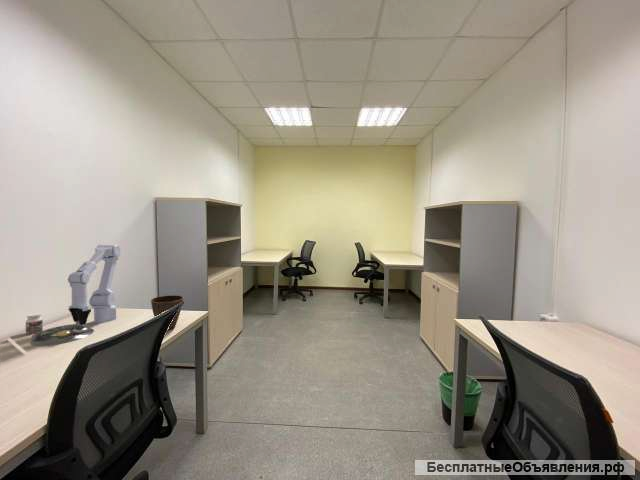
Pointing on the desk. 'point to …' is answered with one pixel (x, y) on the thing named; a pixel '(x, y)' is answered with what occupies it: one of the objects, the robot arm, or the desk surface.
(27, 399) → the desk surface
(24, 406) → the desk surface
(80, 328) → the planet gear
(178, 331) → the desk surface
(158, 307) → the plant pot
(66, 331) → the dark grey round tray
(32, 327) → the pill bottle
